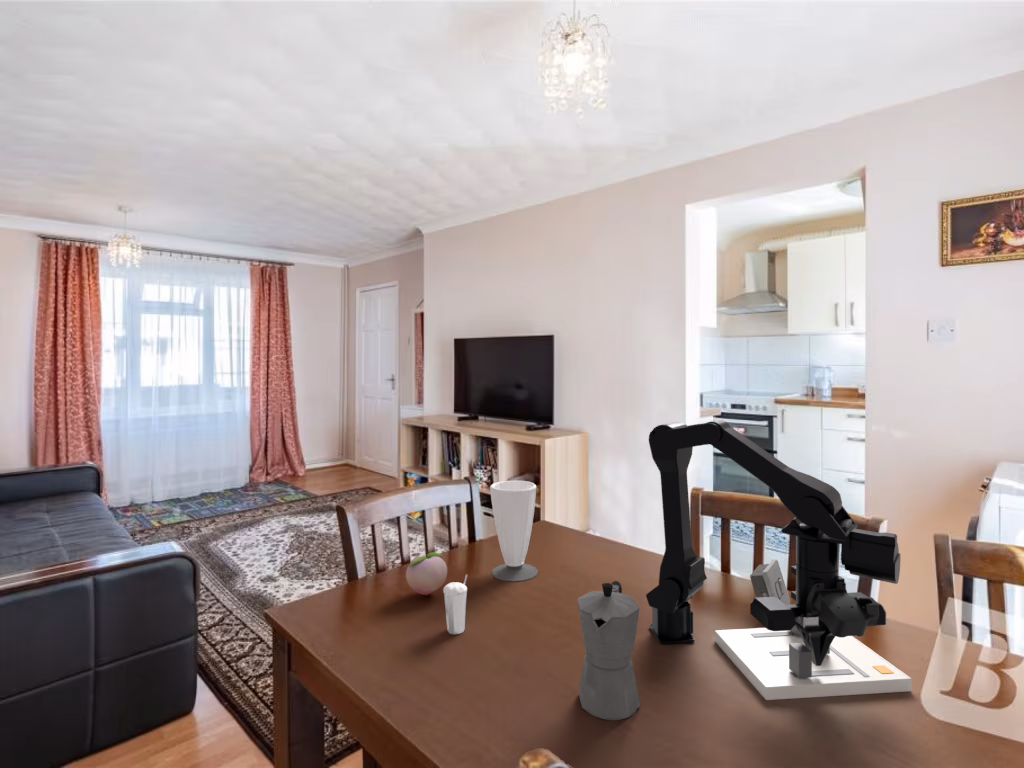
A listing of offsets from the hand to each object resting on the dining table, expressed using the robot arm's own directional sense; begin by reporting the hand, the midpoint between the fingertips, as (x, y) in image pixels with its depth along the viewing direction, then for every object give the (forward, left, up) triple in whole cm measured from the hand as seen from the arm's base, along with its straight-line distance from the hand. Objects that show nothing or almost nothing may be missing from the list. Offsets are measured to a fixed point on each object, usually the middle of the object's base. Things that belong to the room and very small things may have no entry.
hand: (816, 664), depth 82 cm
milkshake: (-57, +23, -4) cm, 61 cm away
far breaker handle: (+4, +12, -1) cm, 13 cm away
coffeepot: (-33, 0, -4) cm, 33 cm away
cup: (-44, +50, -4) cm, 67 cm away
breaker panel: (+2, +6, -3) cm, 7 cm away
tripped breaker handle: (-3, 0, -1) cm, 3 cm away
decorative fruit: (-64, +39, -4) cm, 75 cm away
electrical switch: (+7, +25, -4) cm, 27 cm away
